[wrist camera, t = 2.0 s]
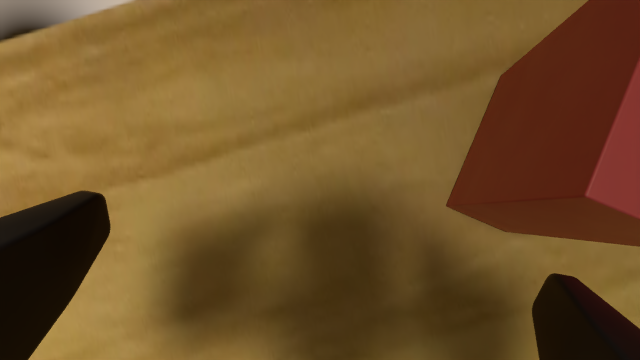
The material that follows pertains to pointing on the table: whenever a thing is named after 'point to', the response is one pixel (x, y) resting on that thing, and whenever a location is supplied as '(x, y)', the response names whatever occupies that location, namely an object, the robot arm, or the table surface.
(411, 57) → the table surface
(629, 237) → the small book
